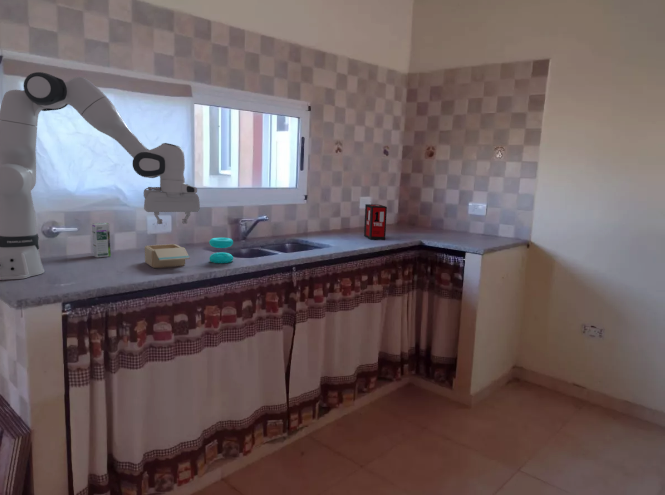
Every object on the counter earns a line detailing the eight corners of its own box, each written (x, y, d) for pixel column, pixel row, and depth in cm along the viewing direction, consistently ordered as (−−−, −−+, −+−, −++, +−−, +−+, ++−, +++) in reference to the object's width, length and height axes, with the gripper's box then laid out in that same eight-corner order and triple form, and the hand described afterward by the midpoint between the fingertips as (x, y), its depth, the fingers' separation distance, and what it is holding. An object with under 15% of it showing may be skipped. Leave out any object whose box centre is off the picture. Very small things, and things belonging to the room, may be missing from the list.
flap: (154, 250, 185) (159, 261, 179) (154, 249, 185) (159, 260, 179) (184, 248, 191) (189, 259, 186) (184, 247, 191) (190, 257, 186)
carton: (152, 268, 186) (152, 250, 185) (144, 262, 197) (143, 245, 196) (185, 265, 193) (185, 248, 192) (176, 259, 204) (175, 243, 203)
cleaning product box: (385, 240, 283) (386, 206, 280) (370, 240, 282) (372, 206, 278) (377, 236, 299) (379, 204, 296) (363, 236, 298) (365, 204, 294)
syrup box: (96, 257, 202) (95, 224, 200) (93, 255, 207) (91, 222, 204) (111, 256, 206) (109, 223, 204) (107, 254, 210) (105, 222, 208)
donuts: (234, 240, 199) (210, 240, 196) (234, 263, 201) (210, 264, 198) (231, 236, 209) (208, 237, 205) (231, 259, 210) (208, 259, 207)
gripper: (145, 187, 171) (146, 225, 173) (201, 188, 182) (200, 224, 184) (141, 186, 176) (142, 223, 178) (196, 187, 187) (195, 222, 189)
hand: (172, 223), depth 181 cm, fingers open, 8 cm apart
